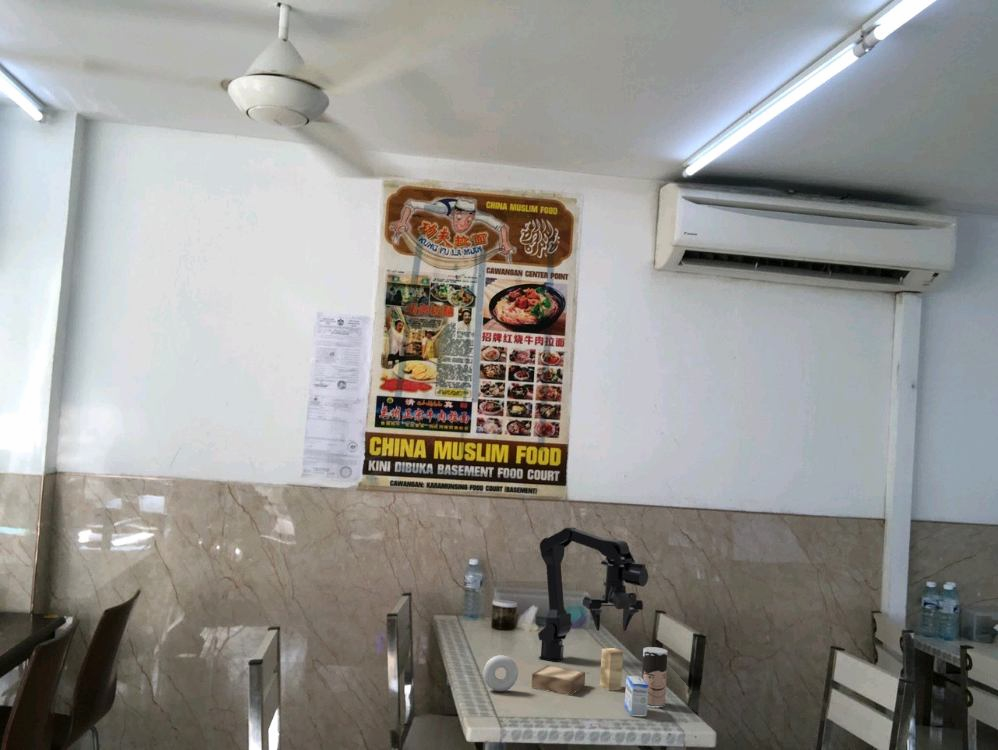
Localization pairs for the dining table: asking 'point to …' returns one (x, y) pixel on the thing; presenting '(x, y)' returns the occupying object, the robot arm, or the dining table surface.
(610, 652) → the oak block
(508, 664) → the donut
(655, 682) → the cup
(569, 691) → the plinth
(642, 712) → the medicine box
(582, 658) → the dining table surface
